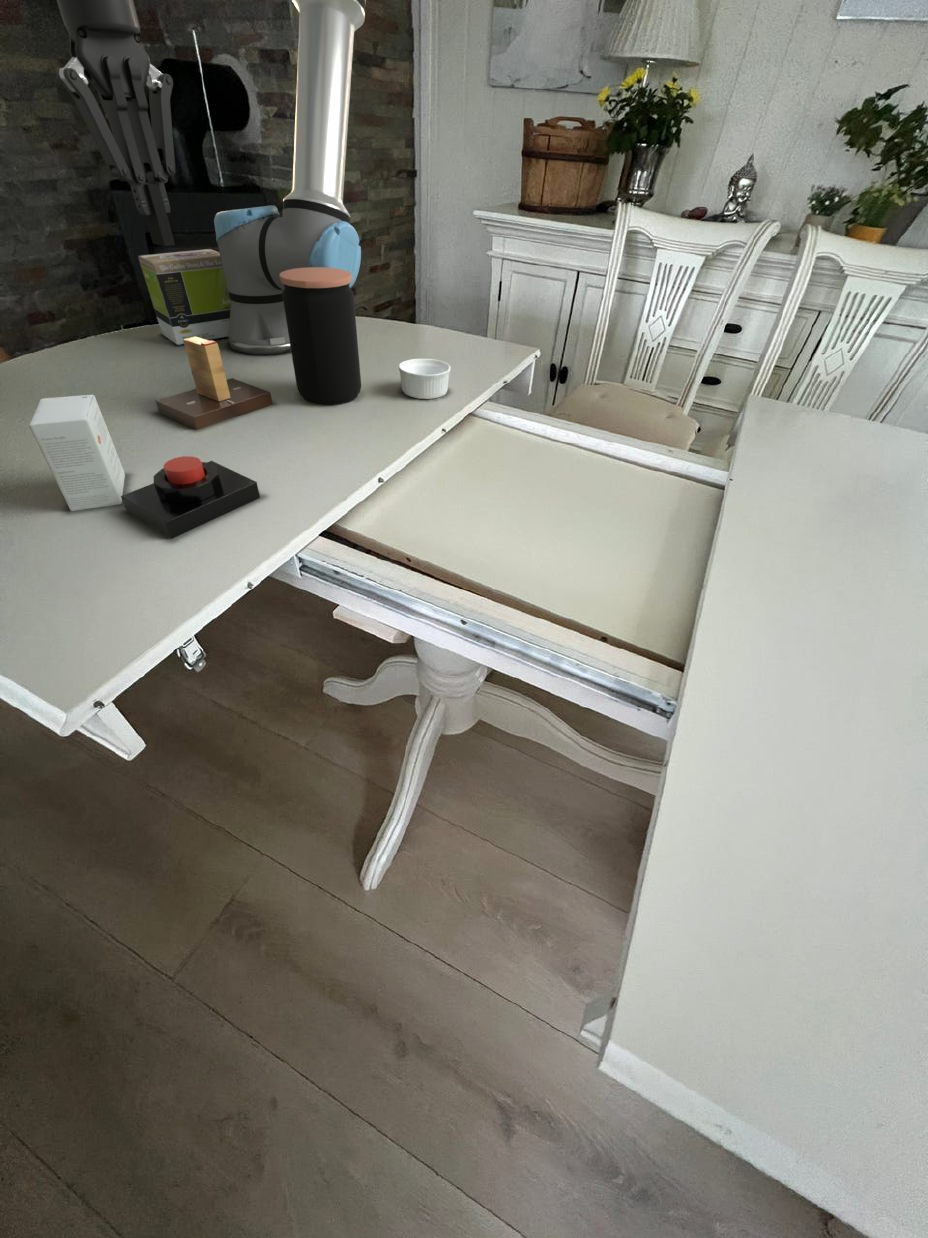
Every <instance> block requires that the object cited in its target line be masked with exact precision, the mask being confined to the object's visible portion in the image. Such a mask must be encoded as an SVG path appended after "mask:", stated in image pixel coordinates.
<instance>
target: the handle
mask: <svg viewBox="0 0 928 1238" xmlns="http://www.w3.org/2000/svg"><path fill="white" fill-rule="evenodd" d="M183 341H184V344H183V345H184V349H185V352H186V356H187V359H188V364H189V366H190V371H191V374H192V378H193V381H194V384H195V388H196V389H197V392H198V394H201V395H203V396H206V397H208V398H211V399H213V400H216V401H218V402H219V401H223V400H226V399H229V398H231V397H230V393H229V389H228V385H227V376H226V373H225V368H224V364H223V359H222V354H221V351H220V348H219V343H217V342H216V341H215V340H213V339H211V340H205V339H202V338H199V337H196V336H195V337H191V338H187V339H183Z"/></svg>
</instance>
